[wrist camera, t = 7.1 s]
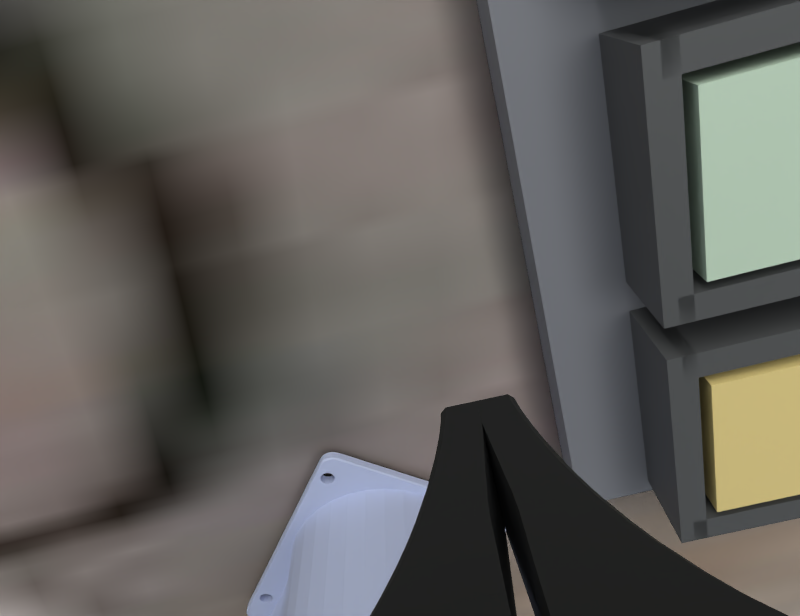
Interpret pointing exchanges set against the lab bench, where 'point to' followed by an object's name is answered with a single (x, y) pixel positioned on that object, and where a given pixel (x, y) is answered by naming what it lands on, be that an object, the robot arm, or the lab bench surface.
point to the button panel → (632, 235)
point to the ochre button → (751, 433)
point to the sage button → (744, 162)
